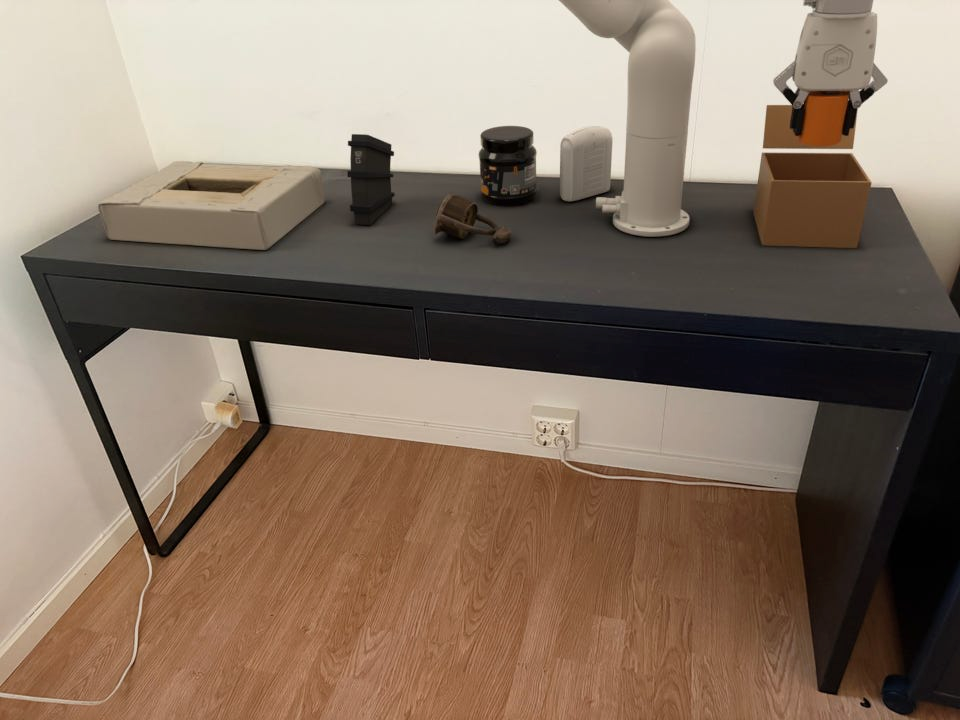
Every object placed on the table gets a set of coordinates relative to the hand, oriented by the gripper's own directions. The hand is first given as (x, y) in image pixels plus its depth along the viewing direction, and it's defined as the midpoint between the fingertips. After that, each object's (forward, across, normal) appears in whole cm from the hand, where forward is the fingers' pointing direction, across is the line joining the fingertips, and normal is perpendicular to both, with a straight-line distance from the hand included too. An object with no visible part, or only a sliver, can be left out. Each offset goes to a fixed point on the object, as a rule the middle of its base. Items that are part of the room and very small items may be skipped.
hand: (820, 132), depth 116 cm
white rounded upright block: (+16, -36, +14) cm, 42 cm away
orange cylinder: (+1, 0, 0) cm, 1 cm away
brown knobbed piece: (+16, -53, -8) cm, 56 cm away
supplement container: (+16, -50, +12) cm, 54 cm away
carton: (+16, 0, 0) cm, 16 cm away
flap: (+1, 0, +8) cm, 8 cm away
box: (+15, -101, -3) cm, 102 cm away
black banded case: (+16, -73, +3) cm, 75 cm away
